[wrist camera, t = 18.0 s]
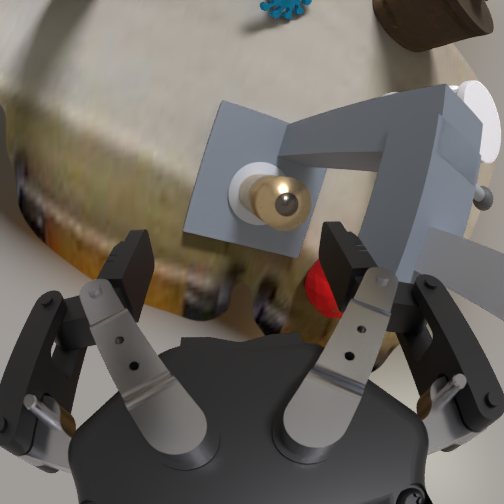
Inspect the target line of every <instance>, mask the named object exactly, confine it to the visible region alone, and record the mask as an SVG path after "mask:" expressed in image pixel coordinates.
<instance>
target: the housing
mask: <svg viewBox="0 0 504 504" xmlns="http://www.w3.org/2000/svg"><path fill="white" fill-rule="evenodd" d="M239 200H240V203H241V204H242V206H243V207H244V208H245V209H246V210H247V211H249V212H250V213H252V214H253V215H255V216H256V217H258V218H259V219H260V220H262V221H263V222H265V223H266V224H268V225H269V226H270V227H272V228H274V229H276V230H279V231H290V230H293V229H296V228H298V227H299V226H301V225H302V224H303V223H304V222H305V220H306V219H307V217H308V216H309V213H310V210H311V196H310V193H309V191H308V189H307V188H306V186H305V185H304V184H303V183H302V182H301V181H299V180H297V179H295V178H291V177H283V176H275V175H266V174H253V175H251V176H249V177H247V178H246V179H245V180H244V181H243V182H242V184H241V185H240V188H239Z"/></svg>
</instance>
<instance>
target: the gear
mask: <svg viewBox="0 0 504 504" xmlns="http://www.w3.org/2000/svg"><path fill="white" fill-rule="evenodd" d="M311 2H312V0H302V4H304V5H309V4H310V3H311ZM275 5H277V6H278V7H277V9H276V10H272V11H270V13H269V14H270V15H271V16H272V17H274V18H279V17H280V14H281V12H282V10H283V9H285V8H286V11H285V12H283V13H282V17H283V18H287V19H291V18H292V9H293V7H294V5H295V8H294V10H293V12H294V13H295V14H302V13H303V12H304V10H303V9H302V7H301V5H300V0H271V2H270V3H265V2H262V3H260V7H261V9H262V10H264V11H267V10H269V9H270V8H271V7H272V6H275Z"/></svg>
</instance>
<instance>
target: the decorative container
mask: <svg viewBox="0 0 504 504" xmlns="http://www.w3.org/2000/svg"><path fill="white" fill-rule="evenodd" d="M449 87H450V88H451V89H452V90H453V91H454V92H455V93H456V94H457V95H458V96H459V97H460V98H461V100H462V101H463V102H464V103H465V104H466V105H467V106H468V107H469V108H470V109H471V110H472V112H473V113H474V114H475V115H476V116H477V117H478V118H479V120H480V121H481V122H482V123H483V129H482V138H481V146H480V153H479V154H480V155H481V162H480V163H489V164H490V163H492V162H494V160H495V159H496V158H497V156H498V153H499V150H500V143H501V128H500V120H499V116H498V112H497V109H496V106H495V103H494V101H493V99H492V97H491V95H490V93H489V92H488V90H487V89H486V88H485V87H484V86H483V85H482V84H481V83H480V82H478V81H465V82H463V83H462V84H461V85H460V86H449ZM395 93H399V92H391V93H386V94H384V95H383V96H386V95H390V94H395ZM381 97H382V96H381Z"/></svg>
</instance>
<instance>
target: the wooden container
mask: <svg viewBox="0 0 504 504" xmlns="http://www.w3.org/2000/svg"><path fill="white" fill-rule="evenodd" d="M485 1H488V0H485ZM485 1H484V0H373V6H374V10H375V13H376V15H377V17H378V19H379V21H380V23H381V24H382V26H383V27H384V28H385V30H386V31H387V32H388V33H389V35H390V36H391V37H392V38H393V39H394V40H396V41H397V42H398V43H399V44H400V45H402V46H403V47H405V48H407V49H409V50H411V51H414V52H422V51H426V50H429V49H432V48H437V47H440V46H444V45H447V44H450V43H453V42H457V41H460V40H464V39H467V38H472V37H476V36H482V35H487V34H490V33H492V32H493V21H492V17H491V14H490V12H489V9H488V7H487V5H486V3H485Z"/></svg>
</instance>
